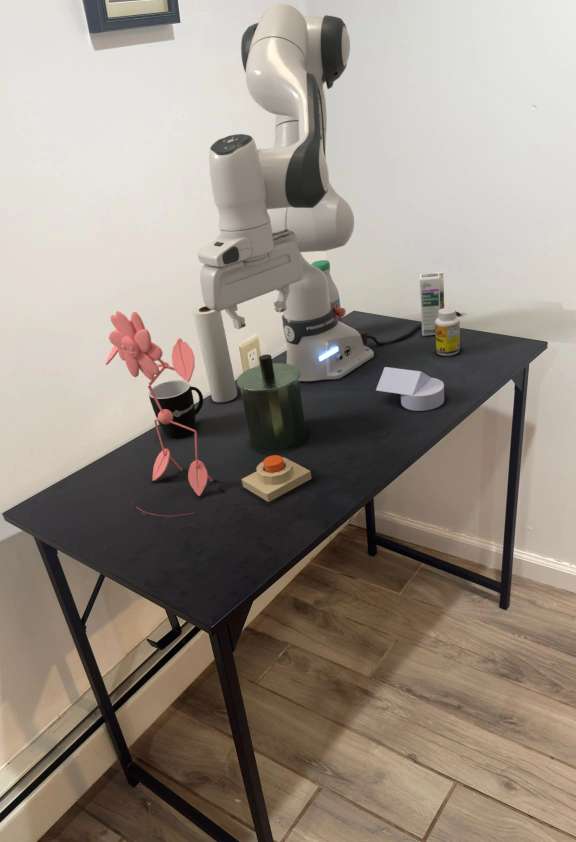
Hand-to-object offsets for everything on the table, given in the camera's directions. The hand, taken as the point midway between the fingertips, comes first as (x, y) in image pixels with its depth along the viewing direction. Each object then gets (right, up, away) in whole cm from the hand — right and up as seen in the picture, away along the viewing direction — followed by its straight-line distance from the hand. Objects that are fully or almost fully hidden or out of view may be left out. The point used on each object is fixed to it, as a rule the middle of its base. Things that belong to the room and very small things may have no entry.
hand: (260, 319), depth 132 cm
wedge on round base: (+32, -12, +22) cm, 40 cm away
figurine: (-17, -32, +4) cm, 37 cm away
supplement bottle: (+43, +3, +40) cm, 59 cm away
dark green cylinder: (+3, -20, +16) cm, 26 cm away
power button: (+3, -27, -1) cm, 28 cm away
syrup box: (+42, +10, +52) cm, 67 cm away
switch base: (+3, -30, +1) cm, 31 cm away
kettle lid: (+1, -9, +8) cm, 12 cm away
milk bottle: (+16, +10, +58) cm, 61 cm away
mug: (-17, -17, +26) cm, 36 cm away
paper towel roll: (-9, -8, +37) cm, 39 cm away
